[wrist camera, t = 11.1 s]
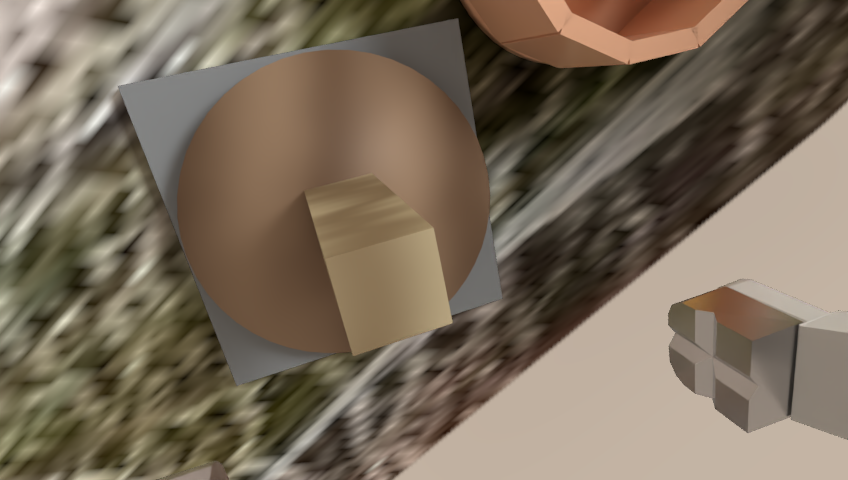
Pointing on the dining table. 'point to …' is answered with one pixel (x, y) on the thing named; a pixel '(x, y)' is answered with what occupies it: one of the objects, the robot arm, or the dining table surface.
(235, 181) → the lid
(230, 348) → the mat
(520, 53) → the bowl
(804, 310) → the robot arm
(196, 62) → the dining table surface
